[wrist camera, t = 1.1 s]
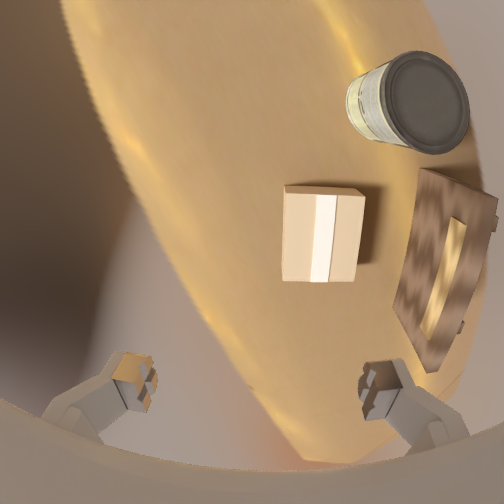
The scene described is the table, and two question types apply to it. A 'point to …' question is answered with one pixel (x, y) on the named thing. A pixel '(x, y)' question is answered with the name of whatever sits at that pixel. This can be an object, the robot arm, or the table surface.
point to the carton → (321, 233)
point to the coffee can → (410, 104)
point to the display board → (442, 262)
